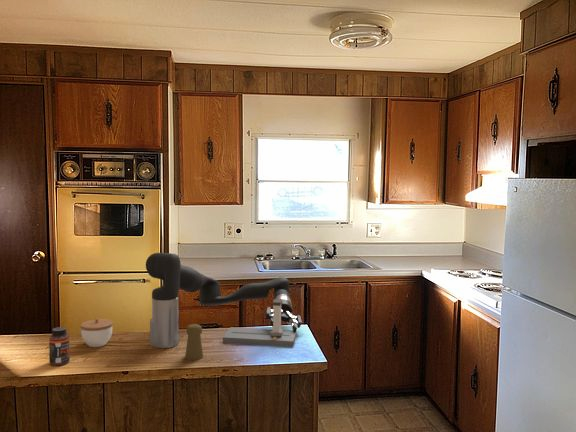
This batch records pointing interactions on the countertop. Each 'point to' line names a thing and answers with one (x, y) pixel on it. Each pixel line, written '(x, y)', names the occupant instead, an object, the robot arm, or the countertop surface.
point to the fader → (277, 318)
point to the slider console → (259, 337)
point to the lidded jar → (96, 332)
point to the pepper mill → (194, 342)
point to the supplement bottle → (59, 347)
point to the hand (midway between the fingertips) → (283, 326)
